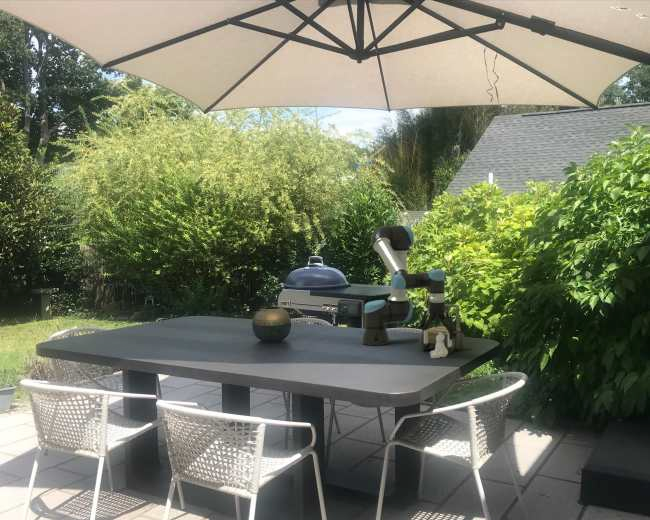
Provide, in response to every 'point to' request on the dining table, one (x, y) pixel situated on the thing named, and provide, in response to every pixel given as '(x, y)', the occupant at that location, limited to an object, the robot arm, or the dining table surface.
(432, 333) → the wooden trolley
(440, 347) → the sitting furry creature
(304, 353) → the dining table surface
